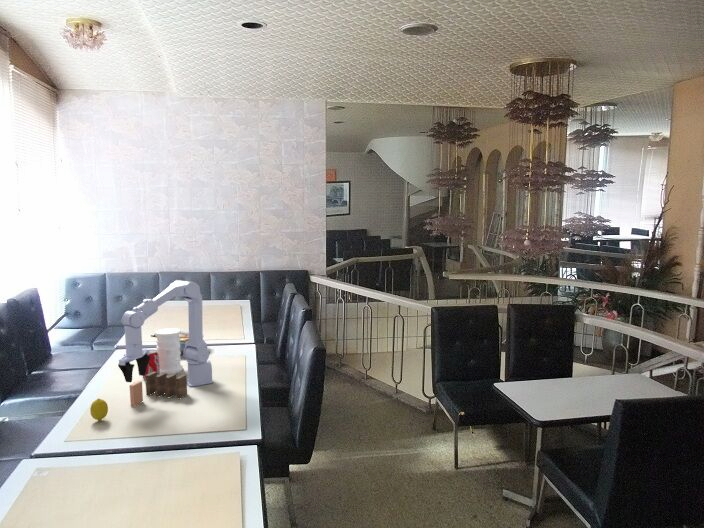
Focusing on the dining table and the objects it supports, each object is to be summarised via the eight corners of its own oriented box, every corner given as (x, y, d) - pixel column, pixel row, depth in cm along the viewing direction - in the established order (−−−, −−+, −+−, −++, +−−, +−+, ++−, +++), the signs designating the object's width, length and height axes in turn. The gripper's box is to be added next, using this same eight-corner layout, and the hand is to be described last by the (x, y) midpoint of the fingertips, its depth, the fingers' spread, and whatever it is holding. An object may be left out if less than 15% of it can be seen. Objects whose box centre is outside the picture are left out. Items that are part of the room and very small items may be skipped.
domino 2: (156, 396, 212) (155, 376, 212) (164, 391, 217) (163, 372, 216) (159, 396, 212) (158, 376, 211) (167, 392, 217) (166, 372, 216)
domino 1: (146, 395, 214) (145, 375, 213) (154, 390, 218) (153, 371, 218) (149, 395, 213) (148, 375, 212) (157, 391, 218) (156, 371, 217)
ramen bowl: (215, 349, 278) (214, 333, 277) (179, 360, 259) (178, 344, 258) (182, 342, 291) (181, 327, 290) (145, 352, 272) (144, 336, 271)
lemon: (91, 425, 185) (90, 402, 184) (90, 419, 190) (89, 397, 189) (109, 422, 188) (107, 399, 187) (108, 416, 193) (106, 394, 192)
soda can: (154, 381, 229) (153, 354, 227) (139, 380, 230) (137, 353, 229) (163, 376, 236) (162, 349, 234) (148, 375, 237) (147, 348, 236)
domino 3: (166, 397, 211) (165, 377, 210) (173, 392, 216) (173, 373, 215) (169, 397, 211) (169, 377, 210) (177, 393, 216) (176, 373, 215)
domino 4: (176, 398, 210) (175, 378, 209) (183, 394, 215) (182, 374, 214) (179, 398, 210) (179, 378, 209) (187, 394, 214) (186, 374, 213)
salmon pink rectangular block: (130, 406, 202) (129, 385, 202) (139, 401, 207) (138, 380, 206) (134, 406, 202) (133, 385, 201) (142, 401, 207) (142, 381, 206)
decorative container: (161, 376, 236) (160, 335, 234) (151, 369, 245) (149, 330, 243) (187, 370, 244) (185, 331, 242) (176, 364, 252) (174, 326, 250)
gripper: (137, 337, 210) (139, 371, 211) (111, 347, 196) (113, 383, 198) (153, 338, 208) (154, 373, 210) (127, 348, 194) (129, 385, 196)
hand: (135, 378), depth 203 cm, fingers open, 7 cm apart
